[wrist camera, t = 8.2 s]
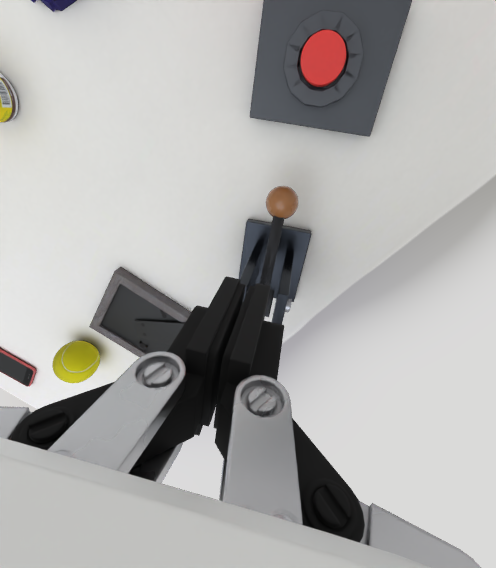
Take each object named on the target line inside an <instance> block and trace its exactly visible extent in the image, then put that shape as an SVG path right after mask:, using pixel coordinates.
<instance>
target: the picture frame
mask: <svg viewBox="0 0 496 568" xmlns="http://www.w3.org/2000/svg"><path fill="white" fill-rule="evenodd" d="M190 314H191V312H190V311H188V310H187V309H185V308H183V307H182V306H180V305H179V304H177V303H176V302H174V301H173V300H171V299H170V298H168V297H166V296H165V295H163V294H162V293H160V292H159V291H157V290H156V289H154V288H152V287H151V286H149V285H148V284H146V283H145V282H143V281H142V280H140V279H139V278H137V277H135V276H134V275H132V274H131V273H129V272H128V271H126V270H125V269H123V268H121V267H120V268H119V269H117V270H116V271H115V272H114V274H113V276H112V278H111V281H110V283H109V285H108V287H107V289H106V291H105V294H104V296H103V298H102V300H101V302H100V305H99V307H98V309H97V311H96V313H95V315H94V318H93V320H92V322H91V324H90V326H89V327H91V328H92V329H94V330H96V331H97V332H99V333H101V334H102V335H104V336H106V337H107V338H109V339H110V340H112V341H114V342H115V343H117V344H119V345H120V346H122V347H124V348H125V349H127V350H129V351H130V352H132V353H134V354H135V355H137V356H139V357H142V356H144V355H146V354H148V353H153V352H167V351H168V349H169V348H170V346H171V344H172V343H173V341H174V340H175V338H176V336H177V335H178V333H179V332H180V330H181V329H182V327H183V325H184V324H185V322H186V321H187V319H188V317H189V316H190Z"/></svg>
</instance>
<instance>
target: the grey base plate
mask: <svg viewBox="0 0 496 568" xmlns="http://www.w3.org/2000/svg"><path fill="white" fill-rule="evenodd" d="M411 3H412V0H264V3H263V11H262V19H261V28H260V36H259V44H258V52H257V61H256V69H255V77H254V85H253V94H252V102H251V110H250V118H257V119H263V120H269V121H275V122H282V123H288V124H294V125H300V126H306V127H313V128H319V129H325V130H331V131H338V132H344V133H350V134H356V135H363V136H370V134H371V131H372V128H373V125H374V121H375V118H376V115H377V112H378V109H379V105H380V102H381V99H382V96H383V92H384V89H385V86H386V83H387V80H388V76H389V73H390V70H391V67H392V64H393V60H394V57H395V54H396V51H397V48H398V44H399V41H400V38H401V35H402V31H403V28H404V25H405V22H406V19H407V15H408V12H409V9H410V6H411ZM321 30H332V31H335V32H336V33H338V34H339V35H340V36H341V37H342V39H343V41H344V43H345V46H346V60H345V64H344V67H343V69H342V71H341V73H340V74H339V76H338V77H337V78H336V79H335V80H334V81H333V82H332V83H331V84H329V85H327V86H323V87H316V86H313V85H311V84H309V83H308V82H307V81H306V79H305V78H304V76H303V73H302V69H301V54H302V50H303V48H304V46H305V44H306V42H307V41H308V39H309V38H310V37H311V36H312V35H314V34H315V33H317V32H319V31H321Z"/></svg>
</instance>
